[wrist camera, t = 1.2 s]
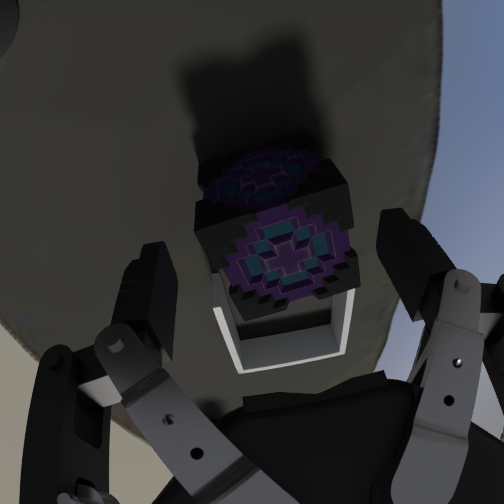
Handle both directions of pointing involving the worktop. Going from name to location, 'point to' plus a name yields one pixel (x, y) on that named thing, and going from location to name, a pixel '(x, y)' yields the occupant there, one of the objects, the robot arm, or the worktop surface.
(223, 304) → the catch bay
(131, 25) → the worktop surface
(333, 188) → the energy cube
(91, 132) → the worktop surface
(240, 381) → the worktop surface
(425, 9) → the worktop surface
